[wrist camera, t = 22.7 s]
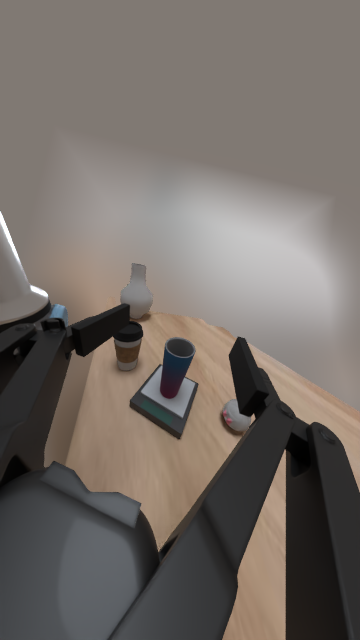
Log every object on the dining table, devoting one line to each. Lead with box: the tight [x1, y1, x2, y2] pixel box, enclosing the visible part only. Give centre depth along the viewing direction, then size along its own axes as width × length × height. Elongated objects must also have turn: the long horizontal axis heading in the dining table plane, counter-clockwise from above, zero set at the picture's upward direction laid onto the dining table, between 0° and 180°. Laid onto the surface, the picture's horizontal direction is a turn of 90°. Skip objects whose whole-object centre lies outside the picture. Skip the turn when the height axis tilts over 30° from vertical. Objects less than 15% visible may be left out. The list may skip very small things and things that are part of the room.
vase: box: [121, 263, 153, 319], centre depth 67 cm, size 17×16×28 cm
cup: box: [160, 337, 195, 399], centre depth 31 cm, size 7×7×15 cm
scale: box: [130, 364, 199, 439], centre depth 35 cm, size 14×14×3 cm
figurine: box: [223, 399, 251, 431], centre depth 32 cm, size 6×7×8 cm
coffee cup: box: [113, 321, 143, 371], centre depth 40 cm, size 8×8×15 cm
